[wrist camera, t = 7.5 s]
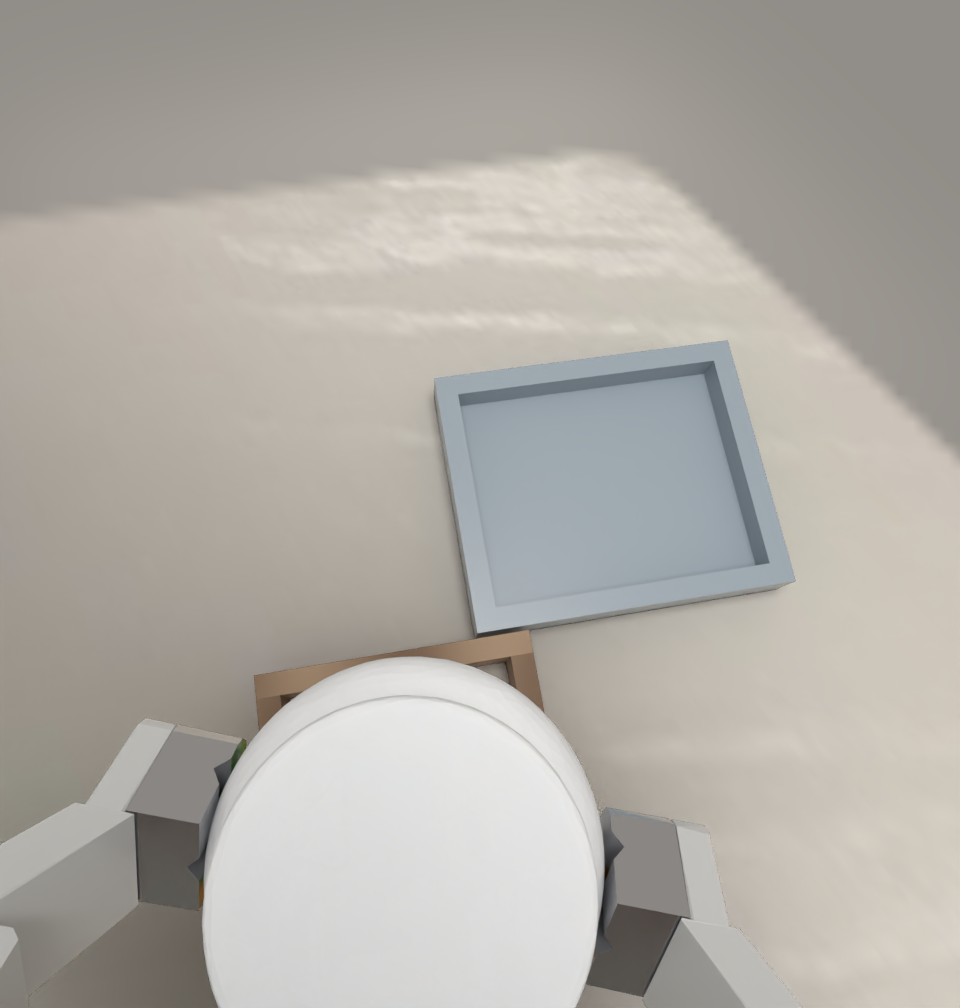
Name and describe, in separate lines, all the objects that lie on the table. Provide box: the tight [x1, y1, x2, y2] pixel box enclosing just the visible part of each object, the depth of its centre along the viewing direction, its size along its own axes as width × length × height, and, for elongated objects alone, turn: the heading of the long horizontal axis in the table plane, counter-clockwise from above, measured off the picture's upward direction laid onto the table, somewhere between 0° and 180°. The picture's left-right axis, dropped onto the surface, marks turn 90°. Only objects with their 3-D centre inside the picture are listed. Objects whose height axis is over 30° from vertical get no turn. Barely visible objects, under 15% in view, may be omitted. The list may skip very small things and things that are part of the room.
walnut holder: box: [254, 630, 545, 731], centre depth 27 cm, size 10×10×2 cm
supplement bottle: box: [202, 657, 605, 1008], centre depth 12 cm, size 5×5×10 cm
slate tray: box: [434, 340, 796, 639], centre depth 31 cm, size 12×10×2 cm
